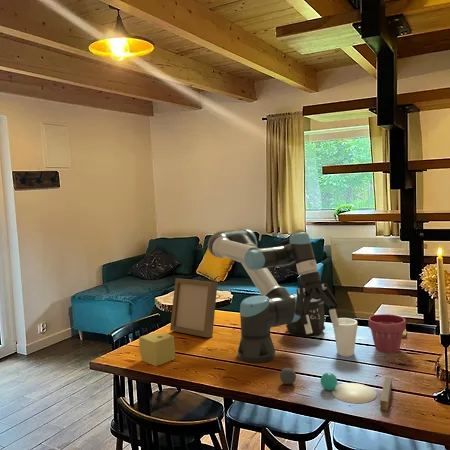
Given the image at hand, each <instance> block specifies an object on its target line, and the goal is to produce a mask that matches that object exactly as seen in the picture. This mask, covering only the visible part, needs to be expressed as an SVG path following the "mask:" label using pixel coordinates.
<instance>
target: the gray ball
mask: <svg viewBox="0 0 450 450" xmlns="http://www.w3.org/2000/svg"><path fill="white" fill-rule="evenodd" d="M279 378H280V381H281V383H283V384H285V385H291V384H293V383H295V381H296V379H297V374H296V372H295V370H294V369H293V368H292V367H284V368H283V369H281V371H280V373H279Z"/></svg>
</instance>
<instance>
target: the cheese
mask: <svg viewBox="0 0 450 450" xmlns="http://www.w3.org/2000/svg"><path fill="white" fill-rule="evenodd" d="M138 340H139V341H138V343H139V344H138V346H139V353H140V357H141V361H142V362H144V363H146V364H149V365H151V364H152V365H151V366H154V367H158V365H159V366H161V365H163V364H166V363H169V362H171V360H172V361H174V359H175V360H176V348H175V347H176V345H175V336H174V335H173V334H169V333H167V332H163V333H150V334H144V335H142V336H139V338H138Z"/></svg>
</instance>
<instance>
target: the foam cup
mask: <svg viewBox="0 0 450 450" xmlns="http://www.w3.org/2000/svg"><path fill="white" fill-rule="evenodd" d="M338 321H339V325H340V326H338V327H333V326H332V328H333V333H334V338H335V344H336V352H337V355H339V356H341V357H352V356H354V355H355V354H354V353H355V347H356V339H357V331H358V320H356V319H354V318H350V317H349V318H348V317H339V318H338Z"/></svg>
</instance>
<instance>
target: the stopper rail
mask: <svg viewBox="0 0 450 450" xmlns="http://www.w3.org/2000/svg"><path fill="white" fill-rule="evenodd" d="M392 379H393V378H392V376H385V378H384V380H383V385H382V391H381V396H380V401H379V403H380V404H379V405H380V407H379V408H380V411H385V412H388V410H389V405H390V398H391V394H392V393H391V392H392V386H393V385H392V384H393V383H392V382H393V381H392Z"/></svg>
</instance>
